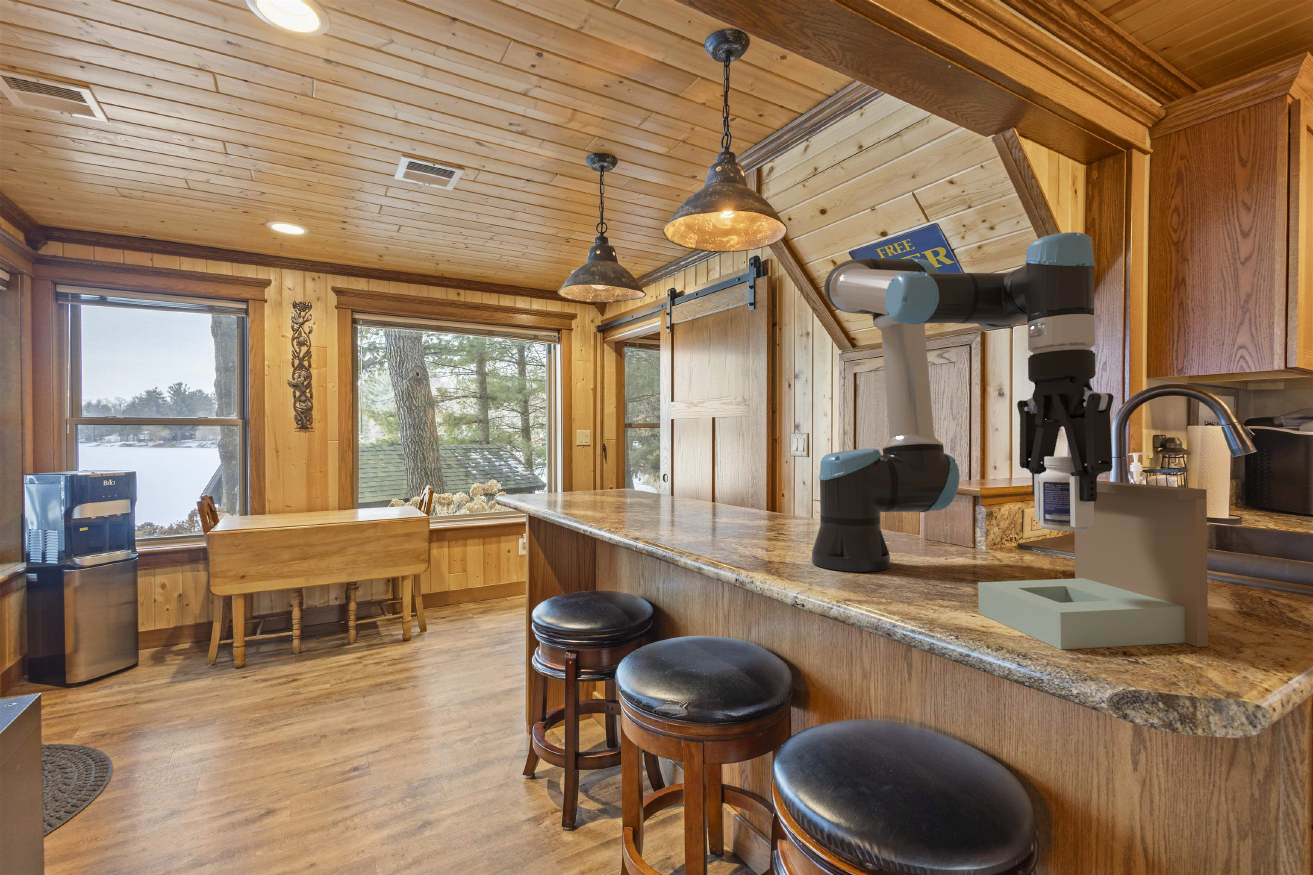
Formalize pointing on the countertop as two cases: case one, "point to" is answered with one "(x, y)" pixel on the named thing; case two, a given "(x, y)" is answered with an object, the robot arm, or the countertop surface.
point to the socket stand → (1120, 576)
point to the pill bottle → (1056, 494)
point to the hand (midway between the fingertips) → (1063, 523)
